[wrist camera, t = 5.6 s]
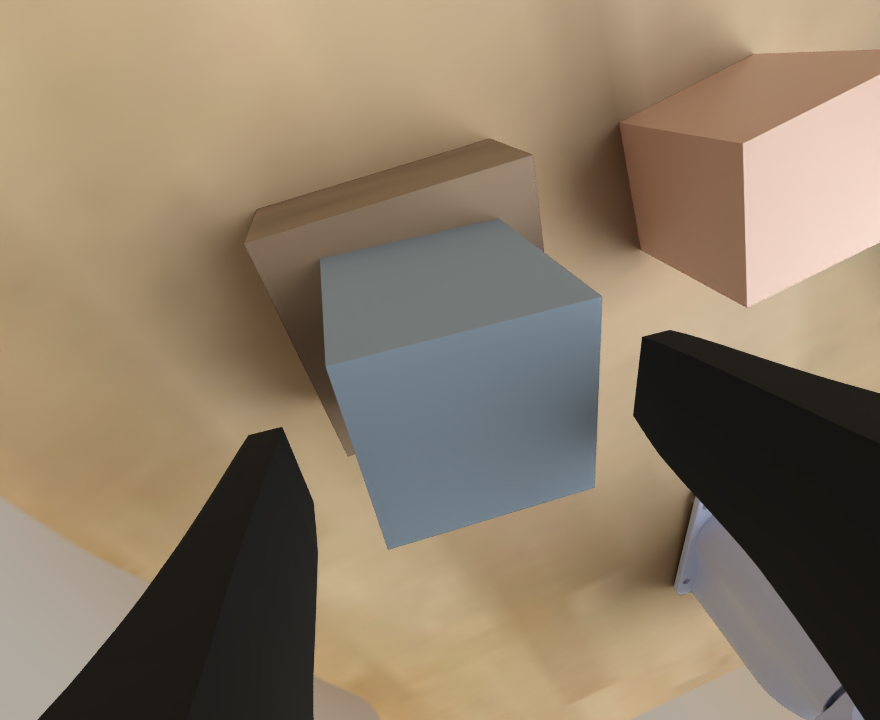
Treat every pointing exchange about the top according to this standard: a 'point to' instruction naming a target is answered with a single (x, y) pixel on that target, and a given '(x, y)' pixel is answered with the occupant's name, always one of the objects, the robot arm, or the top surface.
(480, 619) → the top surface
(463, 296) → the slate block
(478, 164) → the walnut base
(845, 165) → the terracotta block
